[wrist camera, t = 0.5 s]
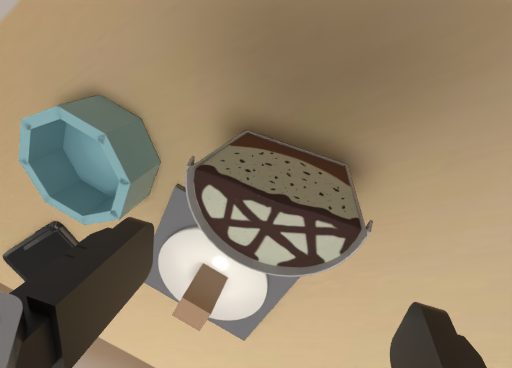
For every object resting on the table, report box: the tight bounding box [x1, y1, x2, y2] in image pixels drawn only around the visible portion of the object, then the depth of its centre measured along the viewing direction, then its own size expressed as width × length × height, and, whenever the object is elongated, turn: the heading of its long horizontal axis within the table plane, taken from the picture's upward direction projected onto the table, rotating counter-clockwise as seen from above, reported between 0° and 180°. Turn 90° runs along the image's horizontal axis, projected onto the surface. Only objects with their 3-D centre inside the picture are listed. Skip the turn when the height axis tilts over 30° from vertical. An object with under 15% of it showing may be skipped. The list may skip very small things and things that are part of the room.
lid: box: [158, 225, 269, 331], centre depth 32 cm, size 13×13×6 cm
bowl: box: [19, 95, 160, 225], centre depth 29 cm, size 11×11×5 cm
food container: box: [185, 130, 373, 277], centre depth 23 cm, size 12×6×10 cm, turn 75°
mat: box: [144, 184, 300, 340], centre depth 35 cm, size 16×16×1 cm
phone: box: [3, 221, 79, 282], centre depth 42 cm, size 8×1×15 cm
